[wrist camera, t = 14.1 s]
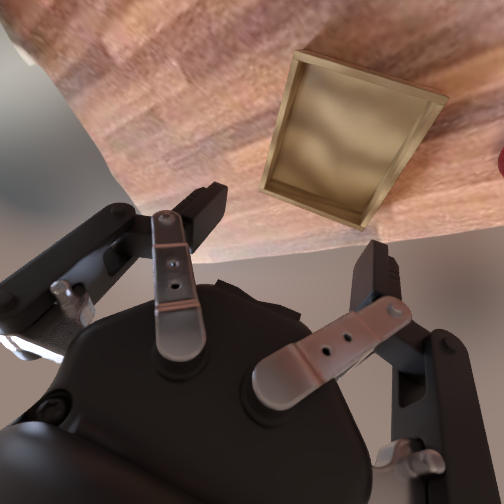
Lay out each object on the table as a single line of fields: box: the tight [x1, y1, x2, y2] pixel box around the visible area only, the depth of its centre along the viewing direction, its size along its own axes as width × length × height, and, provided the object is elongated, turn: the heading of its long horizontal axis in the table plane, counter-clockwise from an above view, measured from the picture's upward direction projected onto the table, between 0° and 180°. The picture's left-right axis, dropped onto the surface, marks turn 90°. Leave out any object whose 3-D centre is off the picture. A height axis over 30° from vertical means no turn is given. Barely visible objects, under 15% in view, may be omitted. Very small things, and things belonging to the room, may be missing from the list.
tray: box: [259, 49, 449, 232], centre depth 32 cm, size 16×15×4 cm
